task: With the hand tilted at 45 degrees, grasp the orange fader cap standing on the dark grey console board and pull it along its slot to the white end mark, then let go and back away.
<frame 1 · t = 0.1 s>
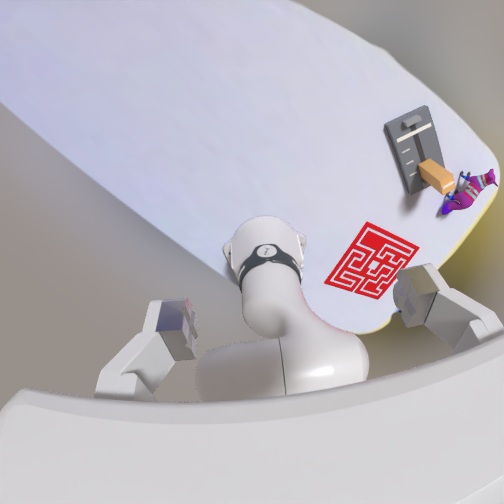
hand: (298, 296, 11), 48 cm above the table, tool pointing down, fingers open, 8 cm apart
fader cap: (436, 176, 52), point 6 cm above the table, slide at 0.0 cm
fader board: (417, 150, 55), on the table
purple fox figurine: (457, 183, 60), on the table
maze puzzle: (373, 263, 74), on the table
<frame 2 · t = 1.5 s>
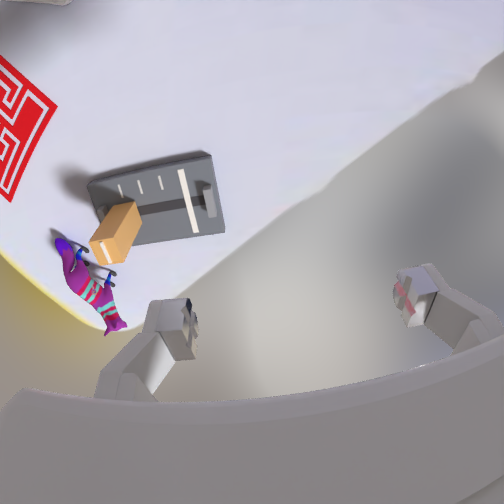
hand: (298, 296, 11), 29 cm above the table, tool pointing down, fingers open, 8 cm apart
fader cap: (117, 231, 35), point 6 cm above the table, slide at 0.0 cm
fader board: (156, 203, 40), on the table
purple fox figurine: (98, 265, 46), on the table
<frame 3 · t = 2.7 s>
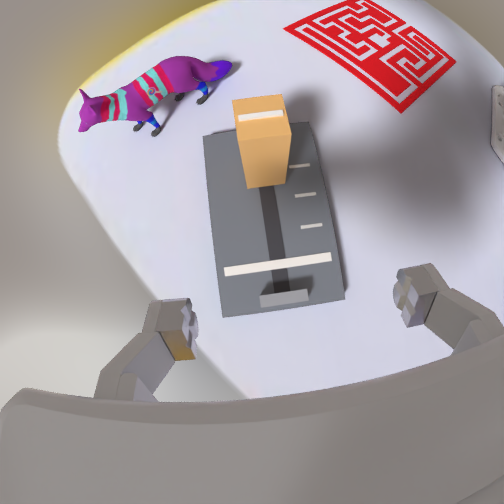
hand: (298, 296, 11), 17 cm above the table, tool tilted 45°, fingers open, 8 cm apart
fader cap: (262, 146, 23), point 6 cm above the table, slide at 0.0 cm
fader board: (269, 214, 28), on the table
purple fox figurine: (172, 113, 31), on the table
maze puzzle: (378, 43, 32), on the table
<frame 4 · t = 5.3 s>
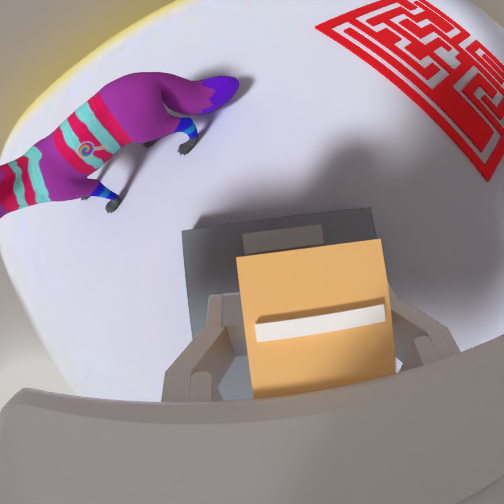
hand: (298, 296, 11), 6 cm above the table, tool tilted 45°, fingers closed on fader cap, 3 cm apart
fader cap: (300, 313, 11), point 6 cm above the table, slide at 0.0 cm, touching gripper
fader board: (295, 372, 17), on the table
purple fox figurine: (138, 169, 19), on the table
maze puzzle: (445, 61, 20), on the table
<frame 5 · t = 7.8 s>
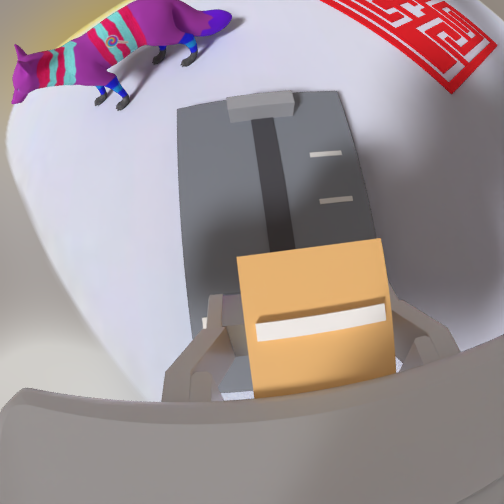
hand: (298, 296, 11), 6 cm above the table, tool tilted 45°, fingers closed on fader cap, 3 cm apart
fader cap: (300, 312, 11), point 6 cm above the table, slide at 8.6 cm, touching gripper
fader board: (277, 230, 18), on the table
purple fox figurine: (147, 80, 21), on the table
maze puzzle: (411, 13, 22), on the table
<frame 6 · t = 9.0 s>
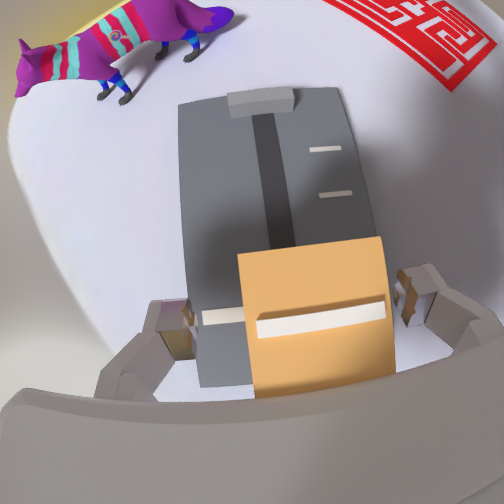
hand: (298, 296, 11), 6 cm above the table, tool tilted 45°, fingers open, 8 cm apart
fader cap: (300, 311, 11), point 6 cm above the table, slide at 8.9 cm
fader board: (277, 224, 18), on the table
purple fox figurine: (149, 75, 21), on the table
maze puzzle: (410, 12, 22), on the table
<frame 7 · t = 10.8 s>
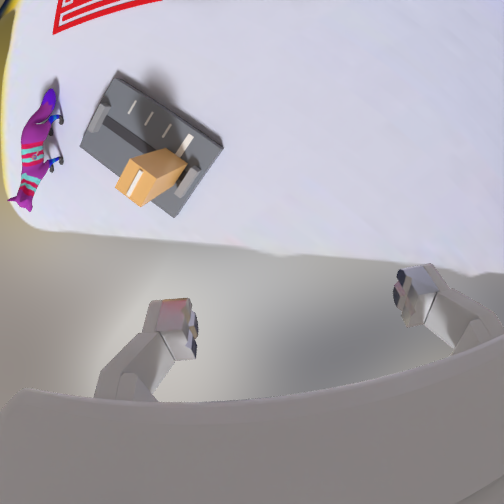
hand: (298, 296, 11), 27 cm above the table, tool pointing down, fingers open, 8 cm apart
fader cap: (153, 174, 31), point 6 cm above the table, slide at 8.9 cm
fader board: (146, 144, 35), on the table
purple fox figurine: (57, 143, 37), on the table
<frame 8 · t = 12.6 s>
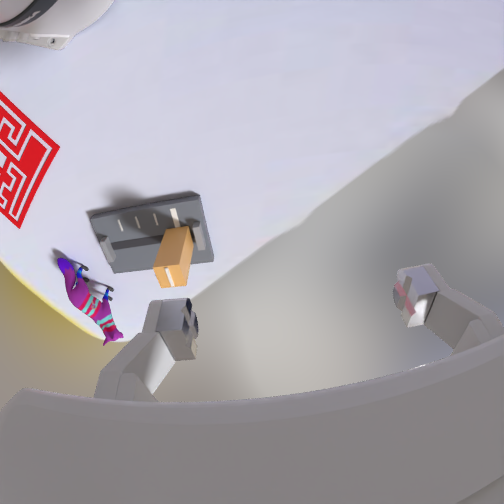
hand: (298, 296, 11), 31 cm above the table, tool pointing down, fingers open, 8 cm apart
fader cap: (175, 255, 40), point 6 cm above the table, slide at 8.9 cm
fader board: (152, 235, 45), on the table
purple fox figurine: (97, 281, 51), on the table
maze puzzle: (2, 157, 35), on the table
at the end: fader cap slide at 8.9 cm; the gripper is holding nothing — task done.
